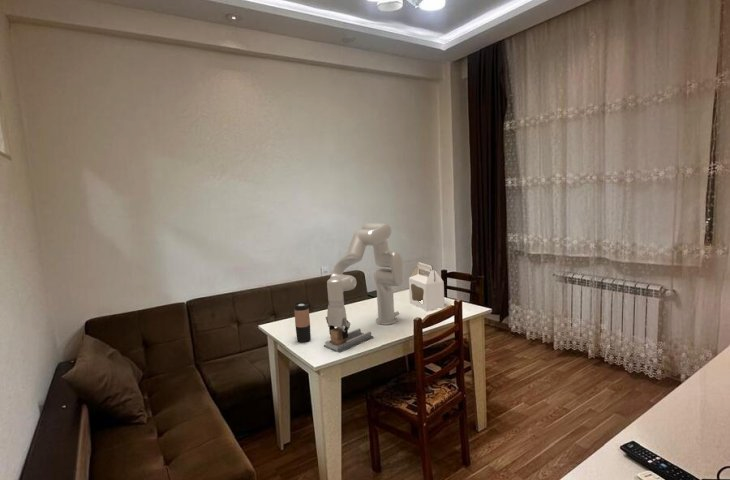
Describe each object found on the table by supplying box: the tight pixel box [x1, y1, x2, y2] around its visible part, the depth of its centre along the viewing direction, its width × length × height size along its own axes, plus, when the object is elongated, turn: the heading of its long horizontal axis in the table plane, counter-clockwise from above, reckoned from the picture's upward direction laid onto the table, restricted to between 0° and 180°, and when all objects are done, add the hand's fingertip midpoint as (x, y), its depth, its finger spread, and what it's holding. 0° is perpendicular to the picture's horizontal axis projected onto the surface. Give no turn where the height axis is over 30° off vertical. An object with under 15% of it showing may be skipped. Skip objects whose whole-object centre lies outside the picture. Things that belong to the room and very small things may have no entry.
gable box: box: [408, 261, 445, 312], centre depth 253 cm, size 22×13×28 cm, turn 22°
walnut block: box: [329, 327, 346, 345], centre depth 194 cm, size 6×5×8 cm
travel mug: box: [293, 301, 312, 344], centre depth 204 cm, size 8×8×20 cm
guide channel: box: [323, 328, 374, 354], centre depth 200 cm, size 24×12×3 cm, turn 136°
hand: (338, 336), depth 195 cm, fingers open, 9 cm apart
